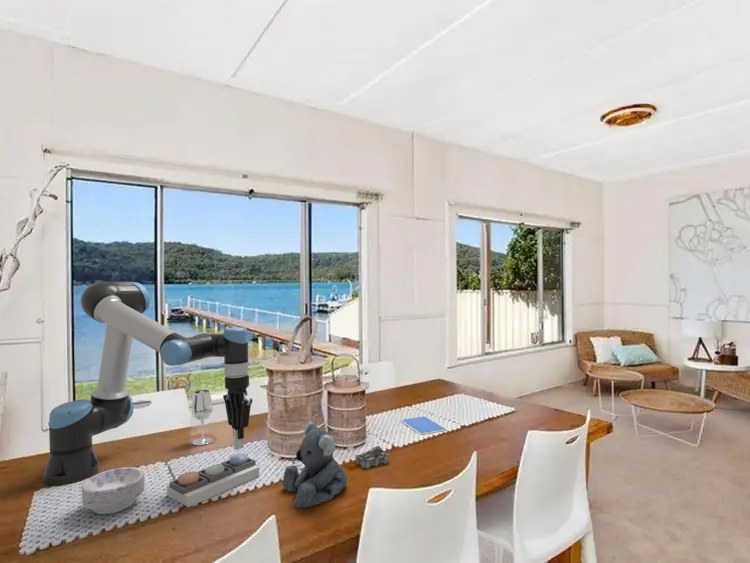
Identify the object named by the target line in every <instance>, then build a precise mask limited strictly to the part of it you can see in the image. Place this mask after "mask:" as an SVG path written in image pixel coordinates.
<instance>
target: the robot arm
mask: <svg viewBox="0 0 750 563" xmlns="http://www.w3.org/2000/svg"><path fill="white" fill-rule="evenodd" d="M150 304H151V297H150V294H149V291H148V290H147V288H146V287H145V286H144V285H143V284H141V283H140V282H135V281H99V282H95V283H93V284H91V285H89V286H88V287H86V288H85V289H84V291H83V292H82V294H81V298H80V306H81V308H82V310H83V312H84V314H86V315H87V316H88V317H89V318H90V319H93V320H94V321H95V322H98V323H100V324H106V328H105V334H104V341H103V346H102V348H103V349H102V353H101V361H100V369H99V372H98V374H99V375H98V382H97V388H94V390H92V391H91V395H90V399H83V398H82V399H75V400H73V401H70V400H69V401H67V402H64V403H61V404H59V405H57V406H56V407H53V409H52V410H51V411H50V413H49V419H48V423H47V424H48V429H49V433H48V434H49V436H48V437H49V456H48V459H47V463H46V465H45V468H44V471H43V475H42V476H43V477H42V478H43V483H44V484H45V485H50V486H58V485H59V486H60V485H67V484H72V483H76V482H80V481H82V480H86V479H89V478H91V477H92V476H94V475H96V473H97V474H98V472H99V470H100V462H99V459H98V456H97V455H96V453H95V450H94V448H93V437H94V436H97V435H99V434H102V433H105V432H108V431H109V430H113V429H117V428H119V427H120V426H122V425H124V424H126V423H127V422H128V421H129V420H131V417H132V416H133V415H134V414H133V413H134V411H135V410H134V409H135V404H134V401H133V398H132V396H131V395H129V390H128V389H127V388H126V383H127V376H128V368H129V363H130V357H131V356H130V355H131V349H132V343H133V342H132V341H133V339H135V340H137V341H139V343H141V344H143V345H145V346H147V347H149V348H151V349H152V350H153V351H156V352H157V353H159V354H160V358H161V360H162V361H163V363H164V364H165V365H167V366H170V367H175V366H183V365H185V364H188V363H192V362H196V361H199V360H200V361H201V360H204V359H208V358H218V357H220V358H223V360H224V361H223V362H224V363H223V365H224V366H223V367H224V370H223V371H224V376H225V377H224V388H225V389H226V390H227V393H226V394H223V395H222V396H223V397H222V398H223V401H224V404H225V410H226V411H225V412H226V417H227V424H228V426H231V428H232V435H233V450H236V451H237V450H240V449H242V448H244V447H245V444H244V443H245V442H244V441H245V440H244V438H245V431H244V430H245V428H247V427H249V423H250V422H249V421H250V416H251V414H250V413H251V406H252V403H253V398H249V397H248V391H247V388H249V386H250V376H249V375H248V374H249V372H250V370H249V338H248V329H247V328H245V327H243V326H241V327H240V326H239V327H238V326H236V327H227V328H225V329H223V333H197V334H194V335H193V336H190V337H185V336H183V335H181V334H179V333H177V332H175V331H173V330H172V329H170V328H168V327H167V326H165V325H163V324H161V323H159V322H157V321H156V320H154V319H152V318H151V317H149V316H147V315H145V314H143V313H145V312H146V311H148V309H149V308H150V306H151V305H150Z"/></svg>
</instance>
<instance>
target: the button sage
mask: <svg viewBox="0 0 750 563" xmlns="http://www.w3.org/2000/svg"><path fill="white" fill-rule="evenodd" d="M204 469H205V475H208V476H210V477H213V476H215V475H218V474H220V473H223V472H224V466H223V465H217V464H213V465H210V466H207V467H205V468H204Z"/></svg>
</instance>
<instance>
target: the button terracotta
mask: <svg viewBox="0 0 750 563" xmlns="http://www.w3.org/2000/svg"><path fill="white" fill-rule="evenodd" d="M177 479H178V485H179V486H190V485H193V484H195V483H197V482H198V481H199V473H198V471H187V472H183V473H181V474H179V475H178V476H177Z"/></svg>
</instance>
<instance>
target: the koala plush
mask: <svg viewBox="0 0 750 563" xmlns="http://www.w3.org/2000/svg"><path fill="white" fill-rule="evenodd" d="M303 431H304V433H303V434H304V437H303V439H302V441H301V444H300V446H299V448H298V450H297V451H296V454H295V459H297V461H299V462H301V463H302V464H303V465H304V467H303V468H302V469H301V471H300V473H299V469H298V467H297V466H296V465H295V464H291V465H287V466H285V469H284V473H283V479H282V486H283V488H284V489H285V491H287V492H289V493H296V496H295V498H294V504H295V506H296V507H297V508H298V509H300V508H302V509H306V508H312V507H314V506H318V505H319V504H322V503H323V502H330V501H331V500H333V499H334V498H335V496H337V495H338V494H339V493H340V492H342V491H343V489H344V488H345V487H346V485H347V482H348V477H347V474H346V471H345V469H344V468H343V466H341V465H340V463H339V462H337V461H336V459H334V452H335V451H336V443H335V439H334V436H332V435H330V434H329V432H327V431H326V430H325V429H323V428H318V426H317V425H316V424H315V423H313V422H312V421H309V422H308V423H306V424H305V425H304V429H303Z"/></svg>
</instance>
